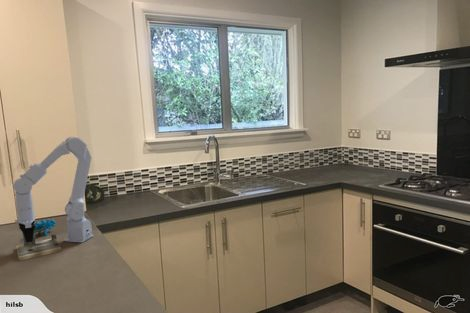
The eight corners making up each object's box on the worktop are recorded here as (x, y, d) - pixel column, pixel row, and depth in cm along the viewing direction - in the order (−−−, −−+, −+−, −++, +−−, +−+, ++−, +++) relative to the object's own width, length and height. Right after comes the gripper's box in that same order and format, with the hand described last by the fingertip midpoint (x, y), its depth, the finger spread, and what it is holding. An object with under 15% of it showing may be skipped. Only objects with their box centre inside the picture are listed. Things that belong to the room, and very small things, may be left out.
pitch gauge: (55, 240, 154) (54, 231, 153) (61, 250, 141) (60, 241, 141) (16, 248, 146) (15, 239, 145) (19, 260, 133) (17, 250, 133)
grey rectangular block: (34, 241, 147) (33, 227, 146) (36, 246, 141) (34, 232, 140) (23, 244, 144) (21, 229, 144) (24, 249, 138) (23, 234, 138)
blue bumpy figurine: (56, 225, 169) (53, 215, 162) (59, 236, 166) (57, 226, 159) (30, 233, 164) (26, 223, 156) (33, 244, 161) (29, 234, 154)
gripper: (12, 206, 146) (16, 238, 148) (14, 214, 134) (18, 248, 136) (32, 203, 150) (35, 234, 152) (35, 210, 138) (39, 243, 140)
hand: (29, 240), depth 144 cm, fingers closed on grey rectangular block, 3 cm apart
